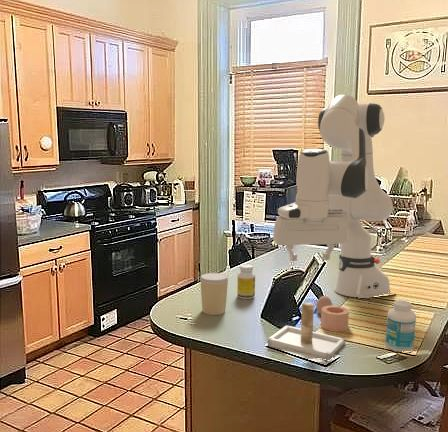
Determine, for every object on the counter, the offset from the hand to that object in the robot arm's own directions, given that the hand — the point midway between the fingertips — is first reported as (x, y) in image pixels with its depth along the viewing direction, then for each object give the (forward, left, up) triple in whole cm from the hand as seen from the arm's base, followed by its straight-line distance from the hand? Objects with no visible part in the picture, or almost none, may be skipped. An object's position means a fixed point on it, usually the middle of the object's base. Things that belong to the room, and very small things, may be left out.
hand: (309, 260), depth 136 cm
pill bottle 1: (+7, -45, -25) cm, 52 cm away
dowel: (0, 0, -24) cm, 24 cm away
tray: (0, 0, -25) cm, 25 cm away
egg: (-14, -22, -25) cm, 36 cm away
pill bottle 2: (-25, +6, -25) cm, 36 cm away
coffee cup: (+21, -32, -25) cm, 46 cm away
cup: (-13, -11, -25) cm, 30 cm away
